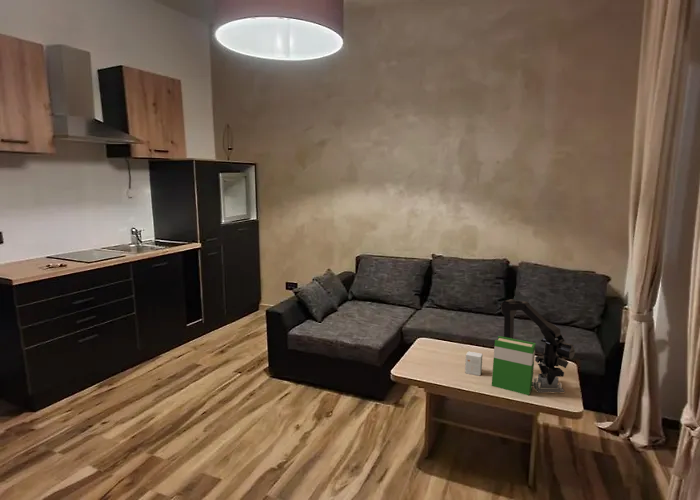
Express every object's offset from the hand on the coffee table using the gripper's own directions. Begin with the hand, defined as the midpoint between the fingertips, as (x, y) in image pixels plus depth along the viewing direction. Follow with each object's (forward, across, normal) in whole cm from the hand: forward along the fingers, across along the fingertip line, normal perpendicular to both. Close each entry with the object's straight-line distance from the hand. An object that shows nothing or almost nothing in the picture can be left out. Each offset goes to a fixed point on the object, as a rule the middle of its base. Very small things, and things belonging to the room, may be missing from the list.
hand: (547, 382), depth 216 cm
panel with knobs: (+3, 0, 0) cm, 3 cm away
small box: (+4, +17, +32) cm, 36 cm away
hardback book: (+4, 0, +18) cm, 18 cm away
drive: (+2, 0, 0) cm, 2 cm away
